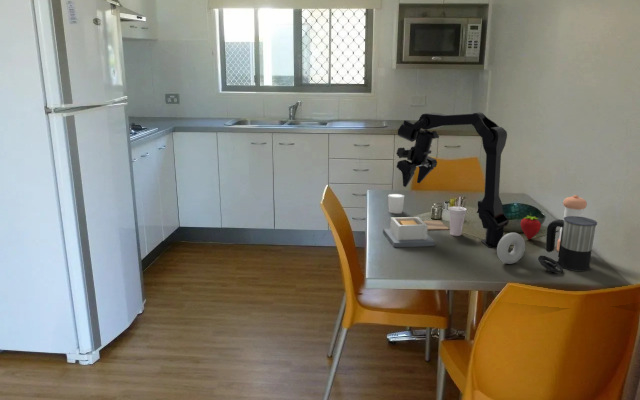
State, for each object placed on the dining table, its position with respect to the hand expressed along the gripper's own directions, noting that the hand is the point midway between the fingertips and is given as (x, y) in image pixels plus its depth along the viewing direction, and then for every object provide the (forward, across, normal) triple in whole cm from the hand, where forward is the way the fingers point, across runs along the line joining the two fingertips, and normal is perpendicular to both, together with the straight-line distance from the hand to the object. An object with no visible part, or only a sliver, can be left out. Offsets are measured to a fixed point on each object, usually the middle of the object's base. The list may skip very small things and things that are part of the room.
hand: (411, 184), depth 201 cm
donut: (+4, +14, +49) cm, 51 cm away
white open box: (+12, +16, +14) cm, 25 cm away
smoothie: (+10, -1, +23) cm, 25 cm away
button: (+9, +16, +13) cm, 22 cm away
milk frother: (+1, +5, +62) cm, 62 cm away
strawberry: (+5, -14, +44) cm, 46 cm away
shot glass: (+19, -10, -10) cm, 24 cm away
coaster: (+13, -3, +11) cm, 17 cm away
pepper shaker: (+2, -12, +58) cm, 59 cm away
